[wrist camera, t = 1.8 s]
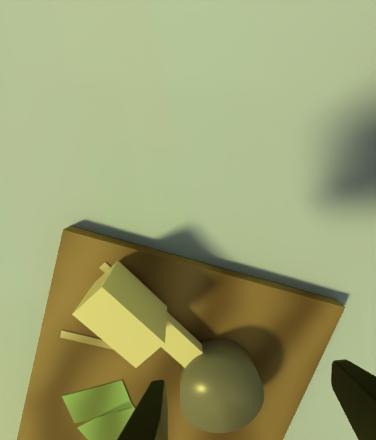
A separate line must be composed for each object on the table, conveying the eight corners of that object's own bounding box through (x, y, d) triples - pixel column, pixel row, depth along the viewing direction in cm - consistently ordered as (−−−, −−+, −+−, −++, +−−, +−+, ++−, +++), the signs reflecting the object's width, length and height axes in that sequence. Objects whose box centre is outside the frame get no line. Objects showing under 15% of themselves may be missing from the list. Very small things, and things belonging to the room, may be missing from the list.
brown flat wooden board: (335, 299, 21) (345, 308, 20) (251, 483, 25) (255, 500, 24) (70, 225, 19) (62, 230, 18) (21, 440, 23) (12, 456, 21)
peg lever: (269, 372, 21) (291, 422, 17) (213, 415, 21) (222, 473, 17) (136, 243, 18) (124, 265, 14) (77, 297, 19) (50, 334, 15)
